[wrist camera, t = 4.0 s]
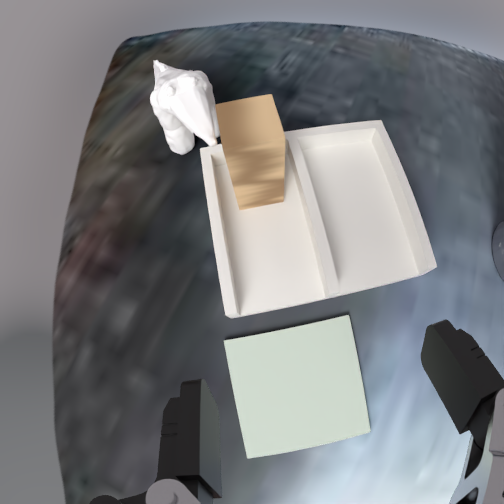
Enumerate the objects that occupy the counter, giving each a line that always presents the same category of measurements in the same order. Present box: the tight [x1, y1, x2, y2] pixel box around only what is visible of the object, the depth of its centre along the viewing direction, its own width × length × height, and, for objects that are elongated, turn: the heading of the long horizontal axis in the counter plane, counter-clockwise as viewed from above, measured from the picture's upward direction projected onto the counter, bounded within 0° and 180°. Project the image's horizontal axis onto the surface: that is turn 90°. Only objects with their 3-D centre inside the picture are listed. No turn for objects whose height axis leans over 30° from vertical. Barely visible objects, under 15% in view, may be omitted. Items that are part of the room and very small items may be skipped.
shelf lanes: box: [200, 120, 437, 318], centre depth 31 cm, size 20×17×4 cm
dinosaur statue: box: [150, 60, 220, 155], centre depth 33 cm, size 7×24×11 cm, turn 28°
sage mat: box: [224, 315, 371, 458], centre depth 28 cm, size 12×12×1 cm
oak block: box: [215, 94, 285, 210], centre depth 28 cm, size 4×4×11 cm
